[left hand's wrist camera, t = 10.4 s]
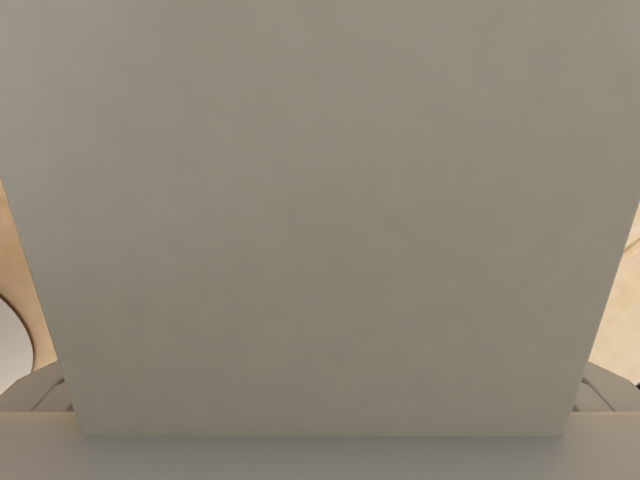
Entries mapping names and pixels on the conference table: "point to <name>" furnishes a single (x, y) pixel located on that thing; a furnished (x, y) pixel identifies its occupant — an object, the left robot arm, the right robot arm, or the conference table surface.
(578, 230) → the box
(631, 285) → the conference table surface
